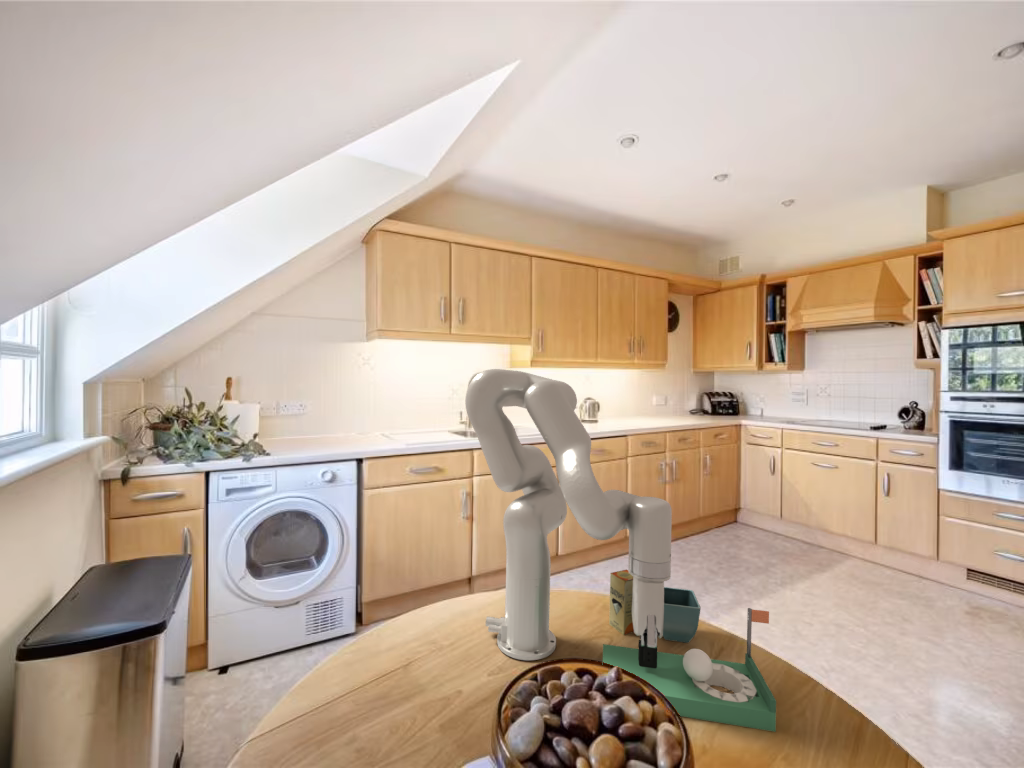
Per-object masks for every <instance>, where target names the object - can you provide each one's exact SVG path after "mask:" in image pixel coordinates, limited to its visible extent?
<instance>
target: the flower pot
mask: <svg viewBox="0 0 1024 768" xmlns="http://www.w3.org/2000/svg"><path fill="white" fill-rule="evenodd" d="M699 603H700V602H699V601H698V598H697V595H696V594H695V592H694V591H693V590H692V589H686V588H675V587H668V586H664V625H663V636H662V638H663V639H664V640H666V641H672V642H680V643H686V644H688V643H690V642H691V640H693V638H694V637H695V636H696V633H697V632H698V631H697V630H698V627H699V621H700V614H701V606H700V604H699Z"/></svg>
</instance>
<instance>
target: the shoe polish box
mask: <svg viewBox="0 0 1024 768" xmlns="http://www.w3.org/2000/svg"><path fill="white" fill-rule="evenodd" d="M609 575H610V576H609V579H610V580H609V611H608V613H609V615H608V616H609V618H608V619H609V621H608V622H609V624H608V625H609V626H611V627H612V628H614V629H615V630H616V631H618V633H620V634H621V635H622V636H626V635H629V634H633V633H634V628H633V621H632V591H633V576H632V575H631V574H630V573H629V571H628V569H622V570H618V571H614V572H610V574H609Z"/></svg>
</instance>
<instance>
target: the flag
mask: <svg viewBox="0 0 1024 768" xmlns="http://www.w3.org/2000/svg"><path fill="white" fill-rule="evenodd" d="M746 618H747V623H746V624H747V625H746V626H747V627H746V628H747V629H746V631H747V632H746V653H747V657H749V658H751V657H752V628H753V627H752V623H759V624H770V610H768V611H767V610H760V609H759V610H758V609H753V608H751V607H748V608H747V617H746ZM746 667H747V665H746Z"/></svg>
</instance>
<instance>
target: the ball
mask: <svg viewBox="0 0 1024 768" xmlns="http://www.w3.org/2000/svg"><path fill="white" fill-rule="evenodd" d="M683 655H684V657H683V666H684V669H685V671H686V673H687V674H688V675H689V676H690V677H691V678H692V679H694V680H696V681H706V680H707V679H709V678H710V677H711V675H712V672H713V665H712V662H711V659H712V658H710V656H709V655H708V654H707V653H706V652H705V651H703V650H701V649H699V648H691V649H689V650H687V651H686V652H685V653H684V654H683Z"/></svg>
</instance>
